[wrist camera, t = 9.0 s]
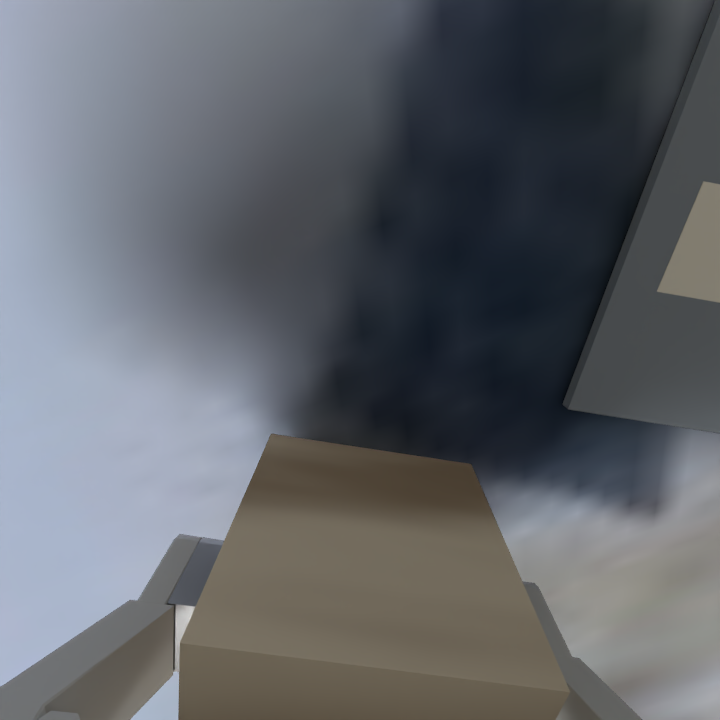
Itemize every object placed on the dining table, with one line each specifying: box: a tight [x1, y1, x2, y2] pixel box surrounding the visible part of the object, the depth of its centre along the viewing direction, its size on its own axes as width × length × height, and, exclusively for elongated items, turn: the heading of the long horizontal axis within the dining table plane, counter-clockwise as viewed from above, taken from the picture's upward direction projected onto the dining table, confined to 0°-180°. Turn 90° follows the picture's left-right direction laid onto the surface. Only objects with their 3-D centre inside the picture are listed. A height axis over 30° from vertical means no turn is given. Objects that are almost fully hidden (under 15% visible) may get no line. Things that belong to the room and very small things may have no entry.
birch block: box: [179, 434, 570, 720], centre depth 8 cm, size 5×5×5 cm
